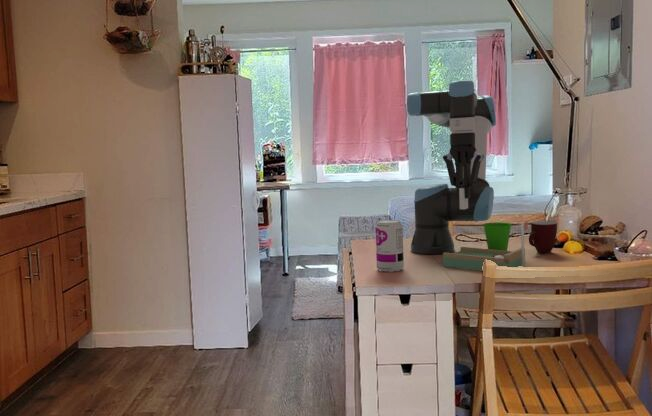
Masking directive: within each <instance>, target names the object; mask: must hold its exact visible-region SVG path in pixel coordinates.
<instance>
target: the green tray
mask: <svg viewBox="0 0 652 416" xmlns="http://www.w3.org/2000/svg"><path fill="white" fill-rule="evenodd" d="M497 255H501V256H503V257H504V258H495V256H497ZM485 259H487V260H491V261H493V262H495V263H496V264H497V265H498V266H507V267H518V266H522V249H521V247H520V248H518V249H516V250H507V251H503V250H492V249H488V248H479V247H477V248H476V247H470V246H469V247H468V246H461V247H460V250H459V251H456V252H449V253H445V252H444V253H443V254H442V262H443V263H442V267H447V268H453V267H455V269H463V270H472V271H480V272H481V271H482V266H483V262H484V260H485ZM524 264H525V265H526V248H524ZM482 272H483V271H482Z"/></svg>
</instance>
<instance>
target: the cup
mask: <svg viewBox="0 0 652 416" xmlns="http://www.w3.org/2000/svg"><path fill="white" fill-rule="evenodd" d="M482 226H483V227H484V232H485V233H484V234H485V239H486V245H487V249H492V250H503V251H508V247H509V240H510V235H511V234H510V232H511V227H512V223H511V222H501V221H499V222H495V221H494V222H485V223H483V224H482Z"/></svg>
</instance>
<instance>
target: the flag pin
mask: <svg viewBox="0 0 652 416" xmlns="http://www.w3.org/2000/svg"><path fill="white" fill-rule="evenodd" d="M520 226H521V228H520V229H521V234H520V235H521V236H520V237H521V239H520V240H521V241H520V242H521V245H520V246H521V247H520V248H521V249H522V266H523V267H526V263H525V264H524V249H525V231H526V230H528V221H525V222H521V224H520Z"/></svg>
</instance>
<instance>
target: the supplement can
mask: <svg viewBox="0 0 652 416" xmlns="http://www.w3.org/2000/svg"><path fill="white" fill-rule="evenodd" d="M403 230H404V227H403V224H402V222H401V220H398V219H383V220H382V219H381V220H377V223H376V225H375V250H376V251H375V252H376V253H375V254H376V269H377V270H378V271H379V270H381V271H380V272H382V271H389V272H388V273H394V272H393V271H397V272H401V271H402V269H404V267H405V262H404V260H405V259H404V257H405V255H404V231H403ZM400 270H401V271H400Z"/></svg>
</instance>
